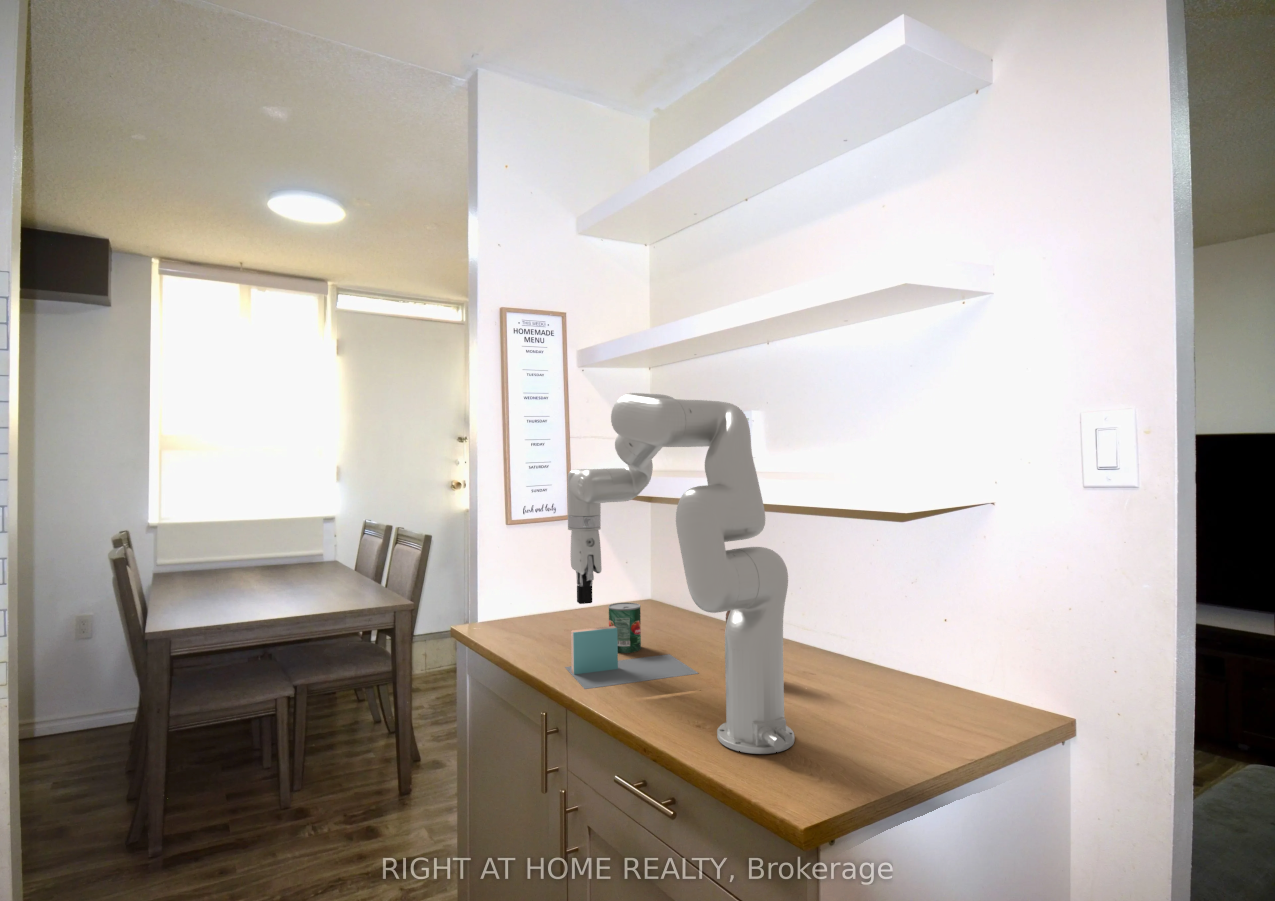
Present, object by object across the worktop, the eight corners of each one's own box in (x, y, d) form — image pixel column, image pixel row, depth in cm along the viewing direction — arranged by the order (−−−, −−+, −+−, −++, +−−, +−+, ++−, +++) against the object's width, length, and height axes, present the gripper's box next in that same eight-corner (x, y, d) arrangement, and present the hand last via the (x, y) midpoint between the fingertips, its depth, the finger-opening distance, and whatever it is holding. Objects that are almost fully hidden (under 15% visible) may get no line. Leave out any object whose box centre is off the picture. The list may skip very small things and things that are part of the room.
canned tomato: (605, 648, 170) (604, 603, 171) (635, 644, 173) (634, 601, 173) (614, 656, 163) (613, 610, 163) (645, 653, 165) (644, 607, 165)
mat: (699, 675, 147) (698, 673, 147) (584, 691, 138) (584, 688, 138) (669, 656, 162) (669, 654, 162) (564, 669, 153) (564, 666, 153)
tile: (617, 668, 151) (617, 627, 151) (574, 674, 148) (573, 632, 148) (615, 666, 153) (614, 625, 153) (571, 671, 150) (571, 630, 150)
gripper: (609, 525, 152) (610, 608, 152) (590, 519, 166) (590, 595, 166) (577, 526, 149) (577, 611, 149) (560, 520, 163) (560, 597, 163)
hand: (584, 602), depth 157 cm, fingers closed
